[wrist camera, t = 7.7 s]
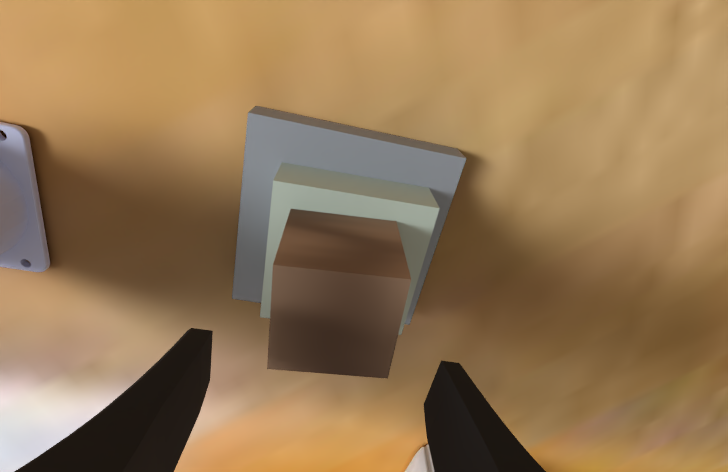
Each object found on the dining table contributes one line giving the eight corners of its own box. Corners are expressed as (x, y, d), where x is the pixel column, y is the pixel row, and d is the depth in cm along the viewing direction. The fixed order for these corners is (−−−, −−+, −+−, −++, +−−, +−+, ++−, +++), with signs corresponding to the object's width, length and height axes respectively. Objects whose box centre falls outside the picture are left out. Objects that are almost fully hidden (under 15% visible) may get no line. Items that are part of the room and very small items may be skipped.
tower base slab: (242, 273, 24) (231, 298, 22) (259, 103, 19) (248, 112, 17) (403, 298, 25) (409, 324, 23) (453, 144, 21) (466, 158, 19)
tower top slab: (268, 287, 21) (259, 317, 19) (281, 162, 18) (273, 180, 16) (395, 304, 22) (401, 334, 20) (428, 187, 19) (439, 208, 17)
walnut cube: (284, 296, 19) (267, 368, 15) (290, 208, 17) (272, 264, 13) (379, 305, 19) (387, 378, 15) (396, 221, 17) (411, 279, 13)
